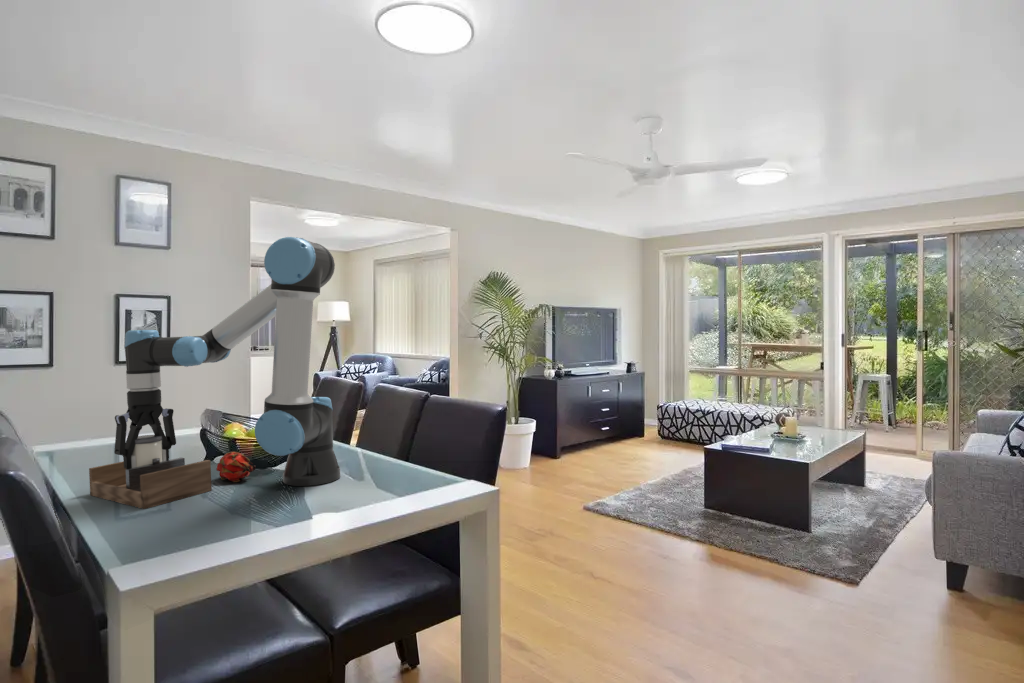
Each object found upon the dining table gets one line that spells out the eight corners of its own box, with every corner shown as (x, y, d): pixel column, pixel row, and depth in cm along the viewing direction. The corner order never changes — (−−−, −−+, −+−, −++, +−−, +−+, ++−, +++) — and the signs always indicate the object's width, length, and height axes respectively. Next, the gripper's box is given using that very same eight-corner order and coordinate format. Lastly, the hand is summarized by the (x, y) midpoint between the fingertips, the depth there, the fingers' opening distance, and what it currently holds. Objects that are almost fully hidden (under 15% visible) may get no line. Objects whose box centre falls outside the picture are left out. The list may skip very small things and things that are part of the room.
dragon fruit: (225, 481, 170) (249, 493, 163) (202, 469, 164) (225, 482, 157) (243, 454, 173) (267, 465, 166) (221, 442, 167) (244, 453, 160)
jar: (169, 481, 155) (167, 436, 155) (140, 488, 149) (139, 441, 149) (154, 478, 159) (152, 433, 159) (125, 484, 153) (123, 438, 152)
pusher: (185, 483, 158) (184, 453, 157) (130, 497, 146) (128, 465, 145) (182, 482, 158) (180, 453, 158) (126, 496, 146) (125, 464, 146)
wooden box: (211, 490, 155) (210, 460, 154) (144, 509, 140) (142, 475, 140) (157, 479, 167) (156, 451, 167) (90, 495, 152) (88, 464, 152)
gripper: (173, 384, 164) (176, 467, 165) (94, 393, 147) (98, 484, 147) (189, 385, 160) (193, 470, 161) (110, 394, 143) (114, 488, 144)
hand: (147, 476), depth 154 cm, fingers closed on jar, 7 cm apart
